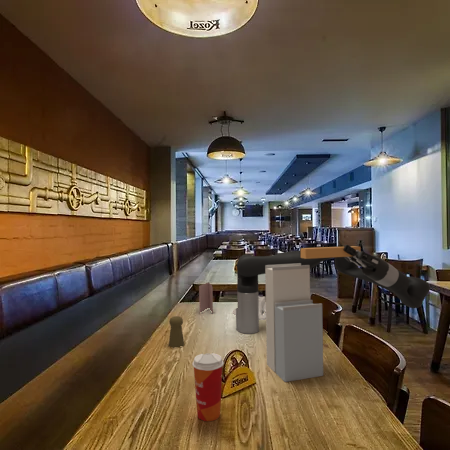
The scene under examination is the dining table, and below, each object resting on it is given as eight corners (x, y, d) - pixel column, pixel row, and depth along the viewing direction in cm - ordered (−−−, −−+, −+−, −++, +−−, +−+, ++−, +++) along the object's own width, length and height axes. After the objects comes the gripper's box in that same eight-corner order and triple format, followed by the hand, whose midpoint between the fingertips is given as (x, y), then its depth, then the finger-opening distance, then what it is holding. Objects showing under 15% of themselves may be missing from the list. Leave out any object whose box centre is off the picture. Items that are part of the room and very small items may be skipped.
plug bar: (354, 255, 112) (354, 246, 112) (360, 255, 109) (360, 246, 109) (300, 257, 106) (300, 248, 106) (305, 258, 103) (305, 248, 103)
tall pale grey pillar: (301, 359, 115) (300, 263, 115) (311, 366, 110) (309, 265, 109) (266, 364, 112) (265, 265, 111) (274, 372, 106) (273, 267, 106)
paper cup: (193, 407, 86) (192, 352, 86) (223, 405, 87) (222, 351, 87) (192, 425, 78) (192, 365, 78) (225, 423, 79) (224, 363, 79)
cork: (181, 348, 127) (180, 319, 127) (166, 347, 129) (165, 318, 129) (186, 342, 133) (185, 315, 133) (171, 342, 134) (171, 314, 134)
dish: (264, 323, 158) (264, 299, 158) (223, 315, 174) (222, 293, 174) (289, 312, 178) (288, 290, 178) (249, 305, 193) (249, 286, 193)
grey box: (312, 367, 109) (311, 299, 109) (323, 375, 103) (322, 303, 103) (275, 373, 105) (274, 302, 105) (284, 382, 99) (283, 307, 99)
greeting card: (207, 309, 185) (207, 282, 185) (219, 310, 182) (219, 282, 182) (198, 314, 175) (197, 285, 175) (211, 315, 172) (210, 286, 172)
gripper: (370, 259, 120) (333, 236, 116) (401, 263, 106) (360, 237, 102) (361, 278, 119) (324, 255, 115) (391, 284, 105) (350, 259, 101)
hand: (341, 247), depth 108 cm, fingers closed on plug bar, 3 cm apart
